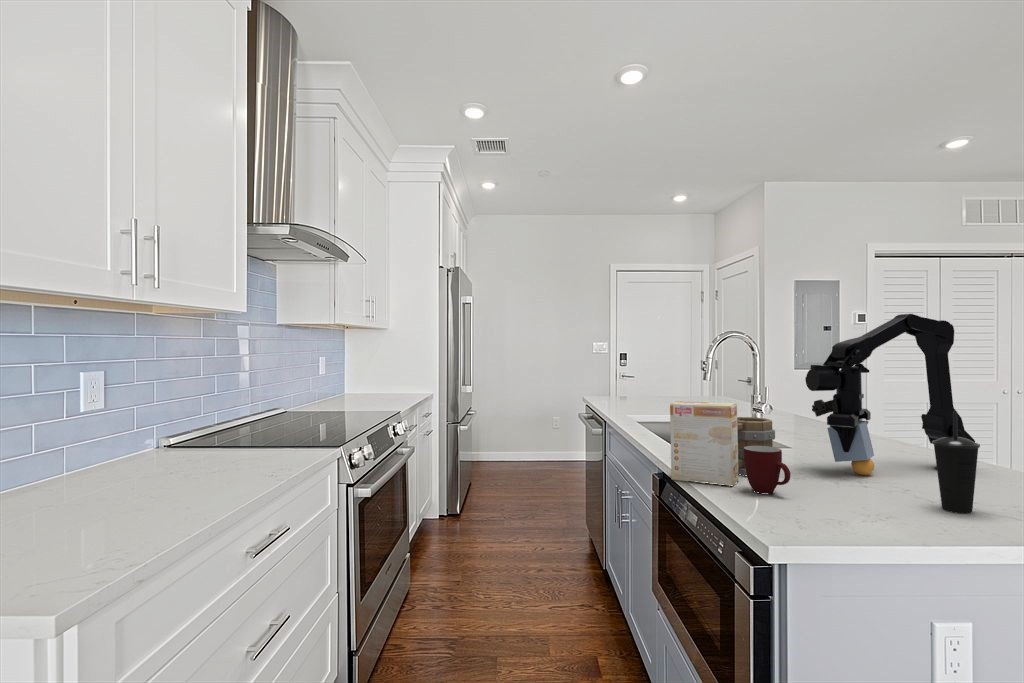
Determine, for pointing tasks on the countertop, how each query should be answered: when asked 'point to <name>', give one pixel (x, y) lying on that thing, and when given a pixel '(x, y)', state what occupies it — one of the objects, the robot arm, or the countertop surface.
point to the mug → (764, 468)
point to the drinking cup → (956, 470)
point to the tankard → (752, 436)
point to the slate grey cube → (859, 447)
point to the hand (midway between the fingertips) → (850, 449)
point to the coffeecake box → (704, 442)
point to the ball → (863, 466)
